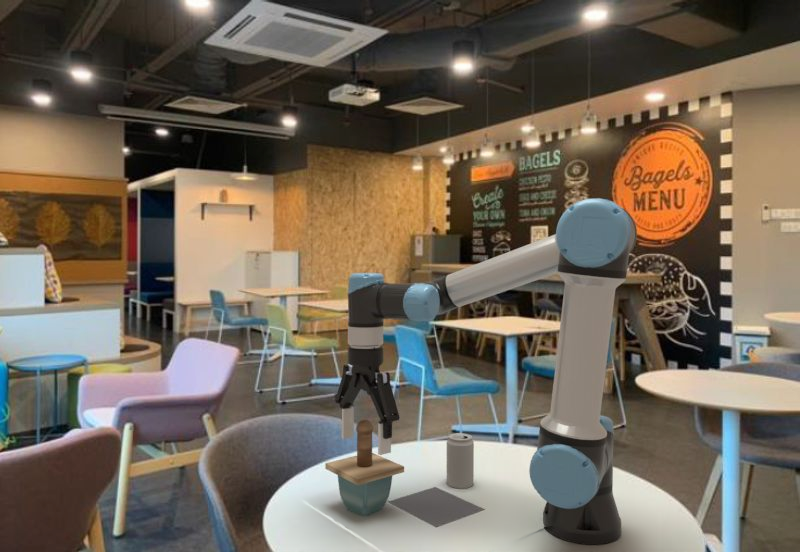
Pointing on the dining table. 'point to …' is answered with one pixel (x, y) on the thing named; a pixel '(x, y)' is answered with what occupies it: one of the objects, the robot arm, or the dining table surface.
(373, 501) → the flower pot
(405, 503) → the mat
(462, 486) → the beverage can
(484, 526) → the dining table surface
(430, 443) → the dining table surface
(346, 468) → the lid
